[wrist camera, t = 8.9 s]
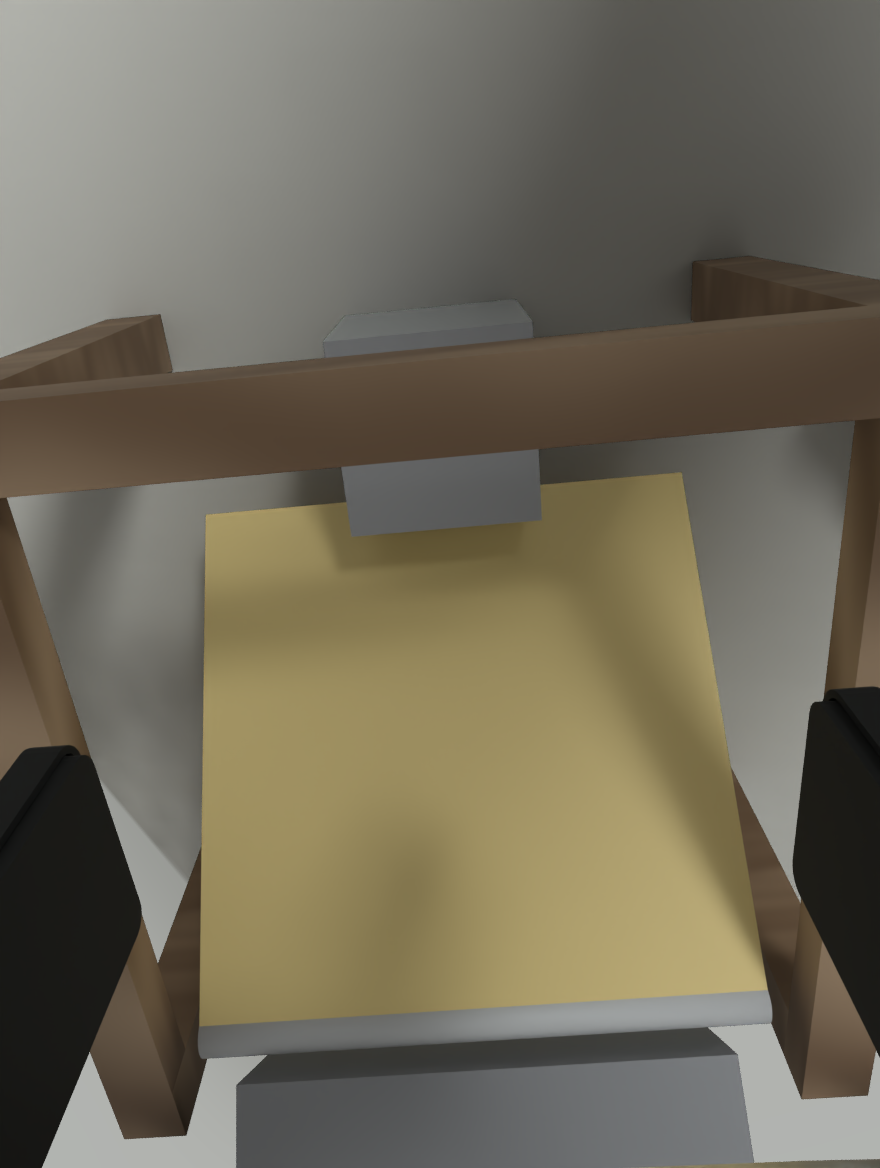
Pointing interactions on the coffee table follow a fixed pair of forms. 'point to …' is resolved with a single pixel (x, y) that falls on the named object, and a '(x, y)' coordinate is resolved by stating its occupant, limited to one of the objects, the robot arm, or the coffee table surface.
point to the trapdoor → (473, 841)
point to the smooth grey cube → (442, 484)
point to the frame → (428, 431)
